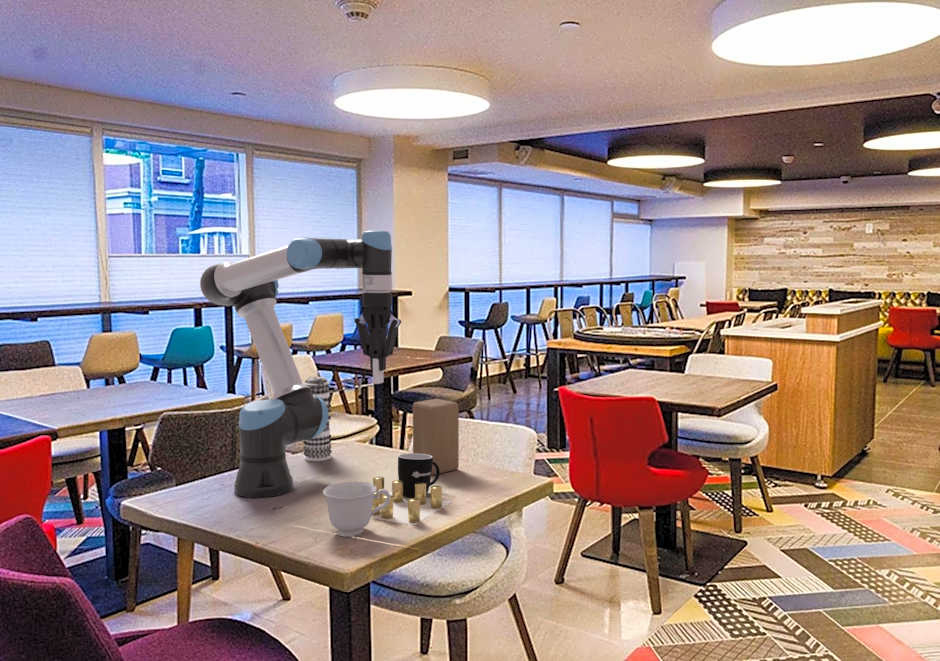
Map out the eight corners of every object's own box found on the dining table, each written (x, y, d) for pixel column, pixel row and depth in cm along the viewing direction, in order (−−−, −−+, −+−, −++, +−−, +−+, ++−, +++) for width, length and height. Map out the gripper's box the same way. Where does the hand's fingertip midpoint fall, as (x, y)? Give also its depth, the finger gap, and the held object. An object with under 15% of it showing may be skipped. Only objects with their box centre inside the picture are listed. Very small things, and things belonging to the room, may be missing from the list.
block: (437, 463, 229) (437, 397, 227) (460, 469, 222) (459, 402, 220) (411, 469, 223) (411, 401, 221) (433, 476, 215) (433, 406, 213)
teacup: (389, 541, 166) (389, 496, 165) (320, 543, 164) (319, 498, 163) (391, 522, 178) (390, 480, 177) (326, 524, 176) (325, 482, 175)
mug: (407, 500, 190) (409, 460, 190) (390, 493, 198) (391, 454, 198) (447, 496, 197) (449, 457, 197) (428, 489, 205) (430, 451, 205)
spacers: (343, 512, 184) (343, 491, 183) (378, 494, 197) (378, 475, 197) (415, 524, 175) (415, 503, 175) (445, 505, 189) (445, 485, 188)
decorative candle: (336, 454, 240) (334, 375, 238) (328, 461, 231) (326, 380, 228) (308, 453, 241) (306, 375, 238) (298, 461, 232) (296, 380, 229)
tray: (331, 512, 184) (331, 510, 184) (374, 491, 201) (374, 489, 201) (414, 526, 174) (414, 525, 174) (451, 503, 191) (451, 501, 191)
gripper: (347, 291, 194) (348, 383, 196) (391, 292, 188) (392, 387, 190) (364, 290, 200) (365, 379, 202) (406, 291, 195) (407, 382, 197)
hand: (378, 382), depth 196 cm, fingers closed
